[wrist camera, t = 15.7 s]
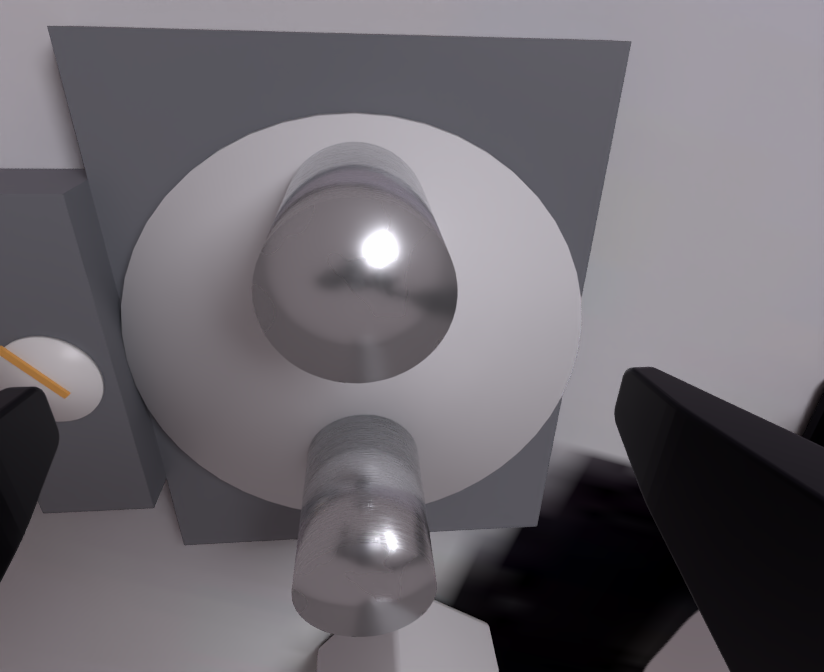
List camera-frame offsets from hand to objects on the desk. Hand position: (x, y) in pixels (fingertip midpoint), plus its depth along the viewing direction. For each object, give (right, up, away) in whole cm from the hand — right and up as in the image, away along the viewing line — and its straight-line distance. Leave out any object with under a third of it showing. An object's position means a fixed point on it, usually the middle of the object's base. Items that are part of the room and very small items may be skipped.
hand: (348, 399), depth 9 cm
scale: (-3, +1, +12) cm, 13 cm away
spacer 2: (-1, -4, +13) cm, 14 cm away
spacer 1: (-1, +5, +8) cm, 10 cm away
